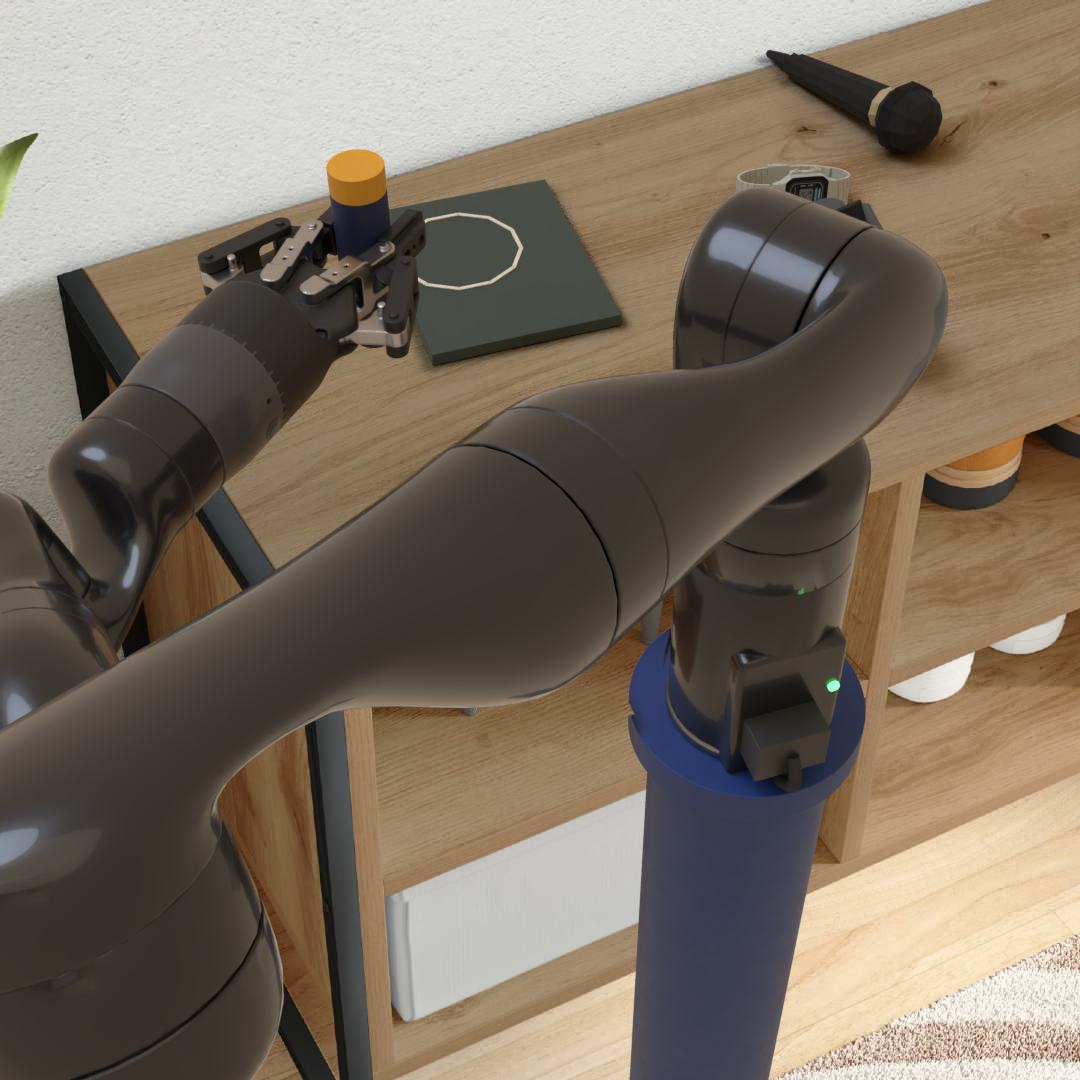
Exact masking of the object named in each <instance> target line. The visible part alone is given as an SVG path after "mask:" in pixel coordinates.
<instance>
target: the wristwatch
mask: <svg viewBox="0 0 1080 1080" xmlns="http://www.w3.org/2000/svg"><path fill="white" fill-rule="evenodd" d="M851 174H852V173H851V172H849V171H848V170H845V169H843V168H839V167H835V166H828V165H821V164H808V163H807V164H803V163H802V164H798V163H797V164H789V163H788V164H787V163H784V162H783V163H768V164H767V165H766V166H764V167H756V168H751V169H748V170H745V171H742V172H740V173H738V175H737V176H736V179H735V181H736V182H735V193H737V192H739V191H742V190H744V189H747V188H750V187H758V186H766V187H772V188H777V189H780V190H783V191H786V192H789V193H791V194H794V195H797V196H799V197H802V198H805V199H807V200H810V201H813V202H814V201H817V200H820V199H824V198H836V199H839V200H841V201H842V202H844V204H845V205H848V202H849V193H850V186H851V176H852V175H851Z"/></svg>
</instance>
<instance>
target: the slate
mask: <svg viewBox="0 0 1080 1080" xmlns="http://www.w3.org/2000/svg"><path fill="white" fill-rule="evenodd" d="M408 208H413V209H416V210H420V211H422V214H423V221H425V229H426V245H425V247H424V248H423V250H422V251H421V252H420V253H419V254H418V255H416V257H415V259H416V261H417V271H418V283H419V294H420V298H419V303H418V308H417V313H416V318H415V322H414V324H415V325H416V328H417V331H418V333H419V335H420V338H421V341H422V342H423V345H424V347H425V350H426V352H427V355H428V357H429V360H430V363H431V364H432V366H436V365H440V364H441V365H442V364H445V363H449V362H455V361H459V360H464V359H469V358H475V357H478V356H479V357H480V356H482V355H483V356H484V355H488V354H491V353H492V354H493V353H497V352H502V351H506V350H510V349H516V348H520V347H525V346H529V345H534V344H539V343H543V342H548V341H554V340H558V339H562V338H566V337H571V336H576V335H580V334H585V333H590V332H595V331H600V330H604V329H608V328H613V327H617V326H621V325H622V313H621V311H620V309H619V307H618V306H617V304H616V302H615V301H614V298H613V297H612V295H611V293H610V292H609V290H608V288H607V287H606V284H605V283H604V281H603V280H602V277H601V276H600V273H599V272H598V271H597V268H596V267H595V265H594V262H593V261H592V260H591V258H590V256H589V254H588V253H587V251H586V249H585V247H584V246H583V244H582V242H581V240H580V239H579V237H578V235H577V233H576V231H575V230H574V228H573V226H572V224H571V223H570V221H569V218H568V217H567V215H566V213H565V212H564V209H563V208H562V206H561V205H560V203H559V201H558V199H557V197H556V196H555V194H554V192H553V191H552V189H551V187H550V185H549V184H548V182H547V180H546V179H545V178H544V179H539V180H534V181H528V182H523V183H518V184H513V185H509V186H508V185H507V186H503V187H498V188H493V189H487V190H481V191H475V192H472V193H466V194H461V195H456V196H451V197H445V198H440V199H436V200H430V201H425V202H420V203H415V204H414V203H413V204H409V205H404V206H399V207H394V208H389V215H390V225H392V224H393V223H394V222H395V221H396V220H397V219H398V218H399V217H400V216H401V215H402V214H403V213H404V212H405V211H406V210H407V209H408Z"/></svg>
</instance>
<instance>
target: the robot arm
mask: <svg viewBox="0 0 1080 1080" xmlns="http://www.w3.org/2000/svg"><path fill="white" fill-rule="evenodd" d="M882 228H883V227H882ZM882 228H879V227H877V226H875V225H872V224H870V223H867V222H865V221H862V220H859V219H857V218H854V217H852V216H849V215H846V214H844V213H841V212H839V211H836V210H834V209H831V208H828V207H826V206H823V205H821V204H817V203H815V202H813V201H810V200H807V199H805V198H802V197H799V196H797V195H794V194H791V193H789V192H786V191H783V190H780V189H777V188H772V187H766V186H758V187H750V188H747V189H744V190H742V191H739V192H737V193H736V192H735V193H734V194H731V196H729V197H728V198H726V199H725V200H724V201H723V202H721V204H720V205H718V206H717V208H715V209H714V210H713V212H712V213H711V214H710V215H709V217H708V218H707V220H706V222H705V223H704V224H703V226H702V228H701V229H700V231H699V233H698V235H697V236H696V238H695V240H694V242H693V244H692V246H691V248H690V251H689V253H688V256H687V259H686V261H685V264H684V269H683V272H682V275H681V279H680V283H679V286H678V290H677V297H676V302H675V311H674V321H673V332H672V369H665V370H655V371H646V372H637V373H628V374H621V375H614V376H613V375H612V376H606V377H598V378H593V379H587V380H583V381H578V382H573V383H568V384H563V385H559V386H555V387H551V388H549V389H545V390H543V391H540V392H537V393H534V394H532V395H529V396H526V397H525V398H522V399H520V400H518V401H516V402H515V403H513V404H511V405H509V406H507V407H505V408H504V409H503V410H501V411H500V412H498V413H496V414H494V415H493V416H491V417H490V418H488V419H487V420H486V421H484V422H483V423H481V424H480V425H478V426H477V427H475V428H474V429H473V430H471V431H469V432H468V433H467V434H464V435H463V436H462V437H461V438H459V439H458V440H457V441H455V442H454V443H452V444H451V445H449V446H447V448H445V449H443V450H442V451H441V452H439V453H438V454H436V455H434V456H433V457H431V459H429V460H428V461H427V462H425V463H424V464H423V465H421V466H420V467H419V468H417V469H416V470H414V471H413V472H412V473H411V474H409V475H408V476H407V477H406V478H404V479H403V480H401V481H400V482H399V483H397V484H396V485H395V486H394V487H392V488H391V489H390V490H388V491H387V492H386V493H384V494H383V495H381V496H380V497H379V498H378V499H376V500H375V501H373V502H372V503H370V504H369V505H368V506H367V507H365V508H363V509H362V510H361V511H359V512H358V513H357V514H355V515H353V516H352V517H351V518H349V519H348V520H347V521H344V523H342V524H341V525H339V526H338V527H336V528H335V529H333V530H332V531H330V532H329V533H328V534H326V535H324V537H322V538H320V539H318V540H316V542H314V543H313V544H311V545H310V546H308V547H307V548H306V549H304V550H303V551H301V552H300V553H299V554H297V555H296V556H294V557H292V558H291V559H289V560H288V561H286V562H285V563H283V564H282V565H280V566H278V567H277V568H276V569H274V570H273V571H271V572H270V573H268V574H267V575H265V576H263V577H262V578H261V579H259V580H257V581H256V582H254V583H253V584H251V585H249V586H247V587H246V588H244V589H243V590H241V591H240V592H238V593H236V594H234V595H233V596H231V597H230V598H228V599H226V600H224V601H222V602H221V603H219V604H217V605H216V606H214V607H212V608H210V609H209V610H206V611H205V612H203V613H202V614H200V615H198V616H197V617H194V618H193V619H191V620H189V621H187V622H185V623H184V624H182V625H180V626H178V627H177V628H175V629H174V630H171V631H170V632H168V633H166V634H164V635H163V636H161V637H160V638H157V639H156V640H154V641H152V642H151V643H149V644H146V645H145V646H144V647H141V648H140V649H138V650H136V651H134V652H133V653H131V654H129V655H127V656H125V657H124V658H121V660H120V659H119V657H118V653H119V651H120V649H121V647H122V645H123V643H124V641H125V639H126V637H127V635H128V634H129V632H130V629H131V628H132V625H133V623H134V621H135V618H136V617H137V615H138V612H139V609H140V607H141V604H142V602H143V600H144V598H145V596H146V593H147V591H148V588H149V587H150V585H151V583H152V581H153V579H154V577H155V575H156V573H157V572H158V570H159V568H160V567H161V564H162V563H163V560H164V558H165V556H166V554H167V552H168V550H169V548H170V547H171V545H172V543H173V541H174V540H175V538H176V537H177V536H178V535H179V534H180V532H181V531H182V530H183V529H184V528H185V527H186V526H187V525H188V523H190V521H191V520H192V519H193V518H194V516H196V515H197V513H199V511H200V510H201V509H202V508H203V507H204V506H205V505H206V504H207V502H209V500H210V499H211V498H212V497H213V496H214V495H215V494H216V493H217V491H219V490H220V489H221V488H222V487H223V486H225V484H226V483H227V482H228V481H229V480H231V479H232V478H233V477H235V476H236V475H237V474H238V473H240V472H241V471H242V470H243V469H244V468H246V467H247V466H248V465H249V464H250V463H251V462H252V461H254V459H255V458H256V457H257V456H258V455H259V454H260V453H261V452H262V450H263V449H264V448H265V447H266V446H267V445H268V444H269V442H270V441H272V439H274V437H275V436H276V435H277V434H278V433H279V432H280V431H281V430H282V428H283V427H285V425H286V424H287V423H288V422H289V421H290V420H291V419H292V418H293V416H294V415H295V414H296V413H297V412H298V411H299V410H300V409H301V408H302V406H304V404H305V403H307V401H308V400H309V399H310V398H311V397H312V395H314V394H315V392H317V390H318V389H319V388H320V386H321V385H322V383H323V381H324V379H325V377H326V376H327V374H328V372H329V370H330V368H331V366H332V365H333V364H334V363H335V362H336V361H338V360H339V359H342V358H343V357H346V356H348V355H350V354H352V353H353V352H355V351H356V350H357V348H358V347H359V345H360V346H361V345H385V346H384V347H385V353H386V355H387V356H388V357H389V358H390V359H402V358H404V357H406V356H407V355H408V354H409V351H410V347H411V342H412V337H413V331H414V327H415V318H416V313H417V308H418V303H419V298H420V294H419V283H418V271H417V261H416V259H415V257H416V255H418V254H419V253H420V252H421V251H422V250H423V248H424V247H425V245H426V229H425V221H423V214H422V211H420V210H416V209H413V208H408V209H407V210H406V211H405V212H404V213H403V214H402V215H401V216H400V217H399V218H398V219H397V220H396V221H395V222H394V223H393V224H392V225H391V226H390V227H389V229H388V230H387V232H385V233H384V234H383V235H382V236H381V237H380V238H379V242H378V243H376V244H375V245H373V246H372V247H370V248H369V249H368V250H366V251H365V252H363V253H362V254H361V255H359V256H358V257H356V256H354V255H352V254H350V255H348V256H346V257H345V258H343V259H342V260H341V261H339V262H338V261H337V262H336V263H335V264H333V265H331V266H330V267H329V268H324V267H325V266H326V265H327V263H328V260H329V259H328V255H331V256H334V257H338V255H337V247H336V240H335V232H334V224H333V216H332V209H331V205H330V206H329V207H328V208H327V209H325V211H323V213H322V214H321V215H319V216H318V218H317V219H308V220H305V221H304V222H303V223H302V224H301V225H292V222H291V220H290V219H289V218H287V217H284V216H283V217H282V216H280V217H275V218H273V219H270V220H268V221H266V222H264V223H262V224H260V225H258V226H255V227H253V228H250V229H249V230H247V231H244V232H242V233H240V234H238V235H236V236H233V237H232V238H229V239H227V240H225V241H222V242H221V243H218V244H216V245H214V246H212V247H210V248H208V249H205V250H203V251H202V252H200V253H198V255H197V258H196V259H197V263H198V267H199V268H198V270H199V275H200V281H201V284H202V287H203V293H204V295H205V297H204V298H203V299H202V300H201V301H199V303H197V305H196V306H195V307H194V308H192V309H191V310H190V311H189V312H188V313H187V314H186V315H185V316H184V317H183V318H181V320H180V321H179V322H178V323H176V325H174V327H172V328H171V329H170V330H169V331H168V332H167V333H166V334H165V335H164V336H163V337H162V338H161V339H160V340H159V341H158V342H157V343H156V344H155V345H153V346H152V347H151V349H149V350H148V351H147V352H146V353H145V354H144V355H142V357H141V358H140V359H139V360H138V361H137V362H136V364H135V365H134V366H133V368H131V370H130V371H129V373H128V374H127V375H126V377H125V379H123V380H122V381H121V383H120V384H119V385H118V387H116V388H115V390H114V391H113V392H112V393H111V394H109V395H108V397H106V398H105V399H104V400H103V401H102V402H101V403H100V404H99V405H98V406H97V407H96V408H95V409H94V410H93V411H92V412H90V414H88V415H87V416H86V418H84V419H83V420H82V421H81V422H80V423H79V425H77V426H76V427H75V428H74V429H73V430H72V431H71V432H70V433H69V434H67V436H66V437H65V438H64V439H62V441H61V442H60V443H59V444H58V445H57V446H56V448H55V449H54V451H53V452H52V453H51V455H50V458H49V460H48V464H47V468H46V479H47V484H48V489H49V493H50V495H51V497H52V499H53V501H54V504H55V506H56V509H57V512H58V514H59V516H60V518H61V520H62V522H63V524H64V527H65V529H66V533H67V536H68V539H69V543H70V544H69V545H70V549H69V548H68V547H67V546H66V544H65V543H64V542H63V541H62V540H61V538H60V537H59V536H58V535H57V534H56V532H55V531H54V530H53V529H52V527H51V526H50V525H49V524H48V523H47V522H46V520H45V519H44V518H43V517H42V516H41V514H40V513H39V512H38V511H37V510H36V509H35V508H34V507H33V506H32V505H31V504H30V503H29V502H28V501H26V500H25V499H23V498H22V496H19V495H17V494H15V493H13V492H10V491H7V490H4V489H0V1080H254V1078H255V1077H256V1075H257V1073H258V1072H259V1070H260V1069H261V1068H262V1066H263V1064H264V1063H265V1061H266V1060H267V1058H268V1056H269V1054H270V1051H271V1048H272V1047H273V1045H274V1042H275V1039H276V1037H277V1034H278V1031H279V1028H280V1022H281V1017H282V1013H283V1007H284V1001H285V994H284V968H283V963H282V958H281V954H280V950H279V949H280V948H279V945H278V941H277V937H276V934H275V931H274V928H273V924H272V922H271V919H270V916H269V914H268V912H267V908H266V906H265V904H264V901H263V899H262V897H261V895H260V894H259V892H258V888H257V886H256V884H255V881H254V879H253V876H252V874H251V873H250V870H249V868H248V866H247V863H246V861H245V858H244V856H243V854H242V852H241V850H240V847H239V846H238V843H237V841H236V839H235V836H234V834H233V831H232V829H231V827H230V825H229V822H228V820H227V817H226V815H225V813H224V811H223V808H222V807H221V806H220V803H219V798H220V795H221V793H222V792H223V790H224V789H225V787H226V786H227V784H228V783H229V782H230V780H231V779H233V777H235V775H237V774H238V772H240V771H241V770H242V769H243V768H244V767H245V766H246V765H247V764H248V763H250V762H251V761H252V760H254V759H255V758H256V757H258V756H259V755H260V754H262V753H263V752H264V751H265V750H268V748H270V747H271V746H272V745H274V744H276V743H277V742H279V741H280V740H282V739H283V738H285V737H287V736H288V735H289V734H291V733H293V732H295V731H298V730H299V729H301V728H303V727H305V726H307V725H309V724H311V723H313V722H315V721H317V720H319V719H321V718H322V717H325V716H326V715H330V714H333V713H336V712H337V713H339V712H344V711H350V710H357V709H365V708H366V709H367V708H369V709H370V708H393V707H399V708H400V707H403V708H437V709H440V708H441V709H449V708H450V709H475V708H476V709H477V708H495V707H501V706H502V707H503V706H509V705H510V706H511V705H514V704H520V703H524V702H528V701H534V700H537V699H540V698H543V697H546V696H549V695H551V694H553V693H554V692H557V691H558V690H560V689H562V688H563V687H565V686H566V685H568V684H570V683H571V682H574V681H575V680H576V679H578V678H579V677H580V676H581V675H582V674H584V673H585V672H586V671H587V670H589V669H590V668H591V667H592V666H593V665H594V664H596V663H597V662H598V661H599V660H600V659H601V657H603V656H604V655H605V654H606V653H607V652H608V651H610V650H611V649H612V648H613V647H614V646H615V645H616V644H617V643H618V642H620V641H621V640H622V639H623V638H624V637H625V636H626V635H627V634H628V633H629V632H630V631H632V630H633V629H634V628H635V627H636V626H637V625H639V623H640V622H642V620H644V619H645V617H647V616H648V615H649V614H651V613H652V611H654V609H656V607H657V606H659V604H660V603H661V602H663V600H664V599H666V597H668V595H669V594H671V592H672V591H673V599H672V616H671V627H670V629H671V630H670V634H669V637H668V641H667V644H666V648H665V651H664V662H663V668H664V664H665V661H666V657H667V654H668V650H669V647H670V664H669V673H668V676H667V683H666V705H667V709H668V713H669V715H670V718H671V720H672V722H673V724H674V725H675V727H676V728H677V730H678V731H679V732H680V733H681V735H682V736H683V737H684V738H685V739H686V740H687V741H688V742H689V743H691V744H692V745H693V746H694V747H696V748H697V749H699V750H700V751H702V752H704V753H706V754H708V755H710V756H712V757H714V758H717V759H718V760H719V761H720V762H721V764H722V765H723V768H724V770H725V771H726V772H727V773H729V774H733V773H737V772H740V771H744V770H748V769H749V771H750V773H751V775H752V777H753V779H754V781H755V782H756V781H759V780H763V779H766V778H770V777H774V776H776V777H775V784H776V785H777V786H778V787H780V788H782V789H784V790H785V791H787V792H795V791H797V790H798V789H799V788H800V786H801V783H802V770H801V769H802V768H806V767H809V766H813V765H816V764H820V763H824V762H825V759H826V754H827V749H828V744H829V739H830V733H831V724H832V719H833V714H834V709H835V704H836V699H837V694H838V689H839V687H840V678H841V673H842V668H843V663H844V658H846V654H847V653H846V652H847V647H848V640H847V639H848V638H847V637H846V635H845V634H844V632H843V625H844V621H845V615H846V609H847V604H848V599H849V593H850V590H851V589H850V588H851V583H852V578H853V572H854V567H855V562H856V558H857V557H856V556H857V552H858V548H859V543H860V537H861V533H862V528H863V527H862V526H863V522H864V516H865V511H866V506H867V502H868V496H869V492H870V491H869V490H870V487H871V478H872V477H871V476H872V461H871V460H872V459H871V456H870V450H869V448H868V445H867V443H866V441H865V437H866V436H867V435H869V433H871V432H872V431H873V430H874V429H876V428H877V427H878V426H879V425H880V424H882V423H883V422H884V421H885V420H886V419H887V418H888V417H889V416H890V415H891V414H892V413H893V412H894V411H895V410H896V409H897V408H898V407H899V406H900V405H901V403H902V402H903V401H904V400H905V399H906V398H907V396H908V395H909V394H910V392H911V391H912V390H913V389H914V388H915V386H916V385H917V383H918V382H919V380H920V379H921V378H922V376H923V374H924V373H925V371H926V370H927V368H928V366H929V365H930V363H931V361H932V359H933V358H934V355H935V353H936V352H937V350H938V347H939V346H940V343H941V341H942V338H943V336H944V332H945V329H946V324H947V318H948V313H949V290H948V285H947V281H946V277H945V275H944V273H943V272H942V269H941V267H940V266H939V264H938V262H937V261H936V260H935V259H934V258H933V257H932V256H931V255H930V254H929V253H927V252H926V251H925V250H923V249H922V248H921V247H919V246H918V245H916V244H915V243H914V242H912V241H910V240H909V239H908V238H907V239H906V238H905V237H903V236H901V235H898V234H897V233H894V232H892V231H889V230H887V229H884V228H883V229H882ZM271 243H272V247H273V249H271V250H269V251H267V252H265V253H263V254H261V252H260V251H261V249H262V248H263V247H264V246H267V245H268V244H271ZM375 270H376V275H374V276H373V277H372V274H373V272H374V271H375ZM387 292H388V295H387V299H386V303H385V302H379V303H378V304H377V310H375V311H374V312H373V313H372V315H371V316H370V317H369V318H368V319H366V320H362V321H359V320H361V319H362V318H363V317H365V316H366V315H368V314H369V313H370V312H371V311H372V310H373V308H374V305H375V302H376V301H377V299H379V298H380V297H381V296H383V295H384V294H386V293H387ZM784 773H788V775H789V777H788V776H786V775H783V774H784Z"/></svg>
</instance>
